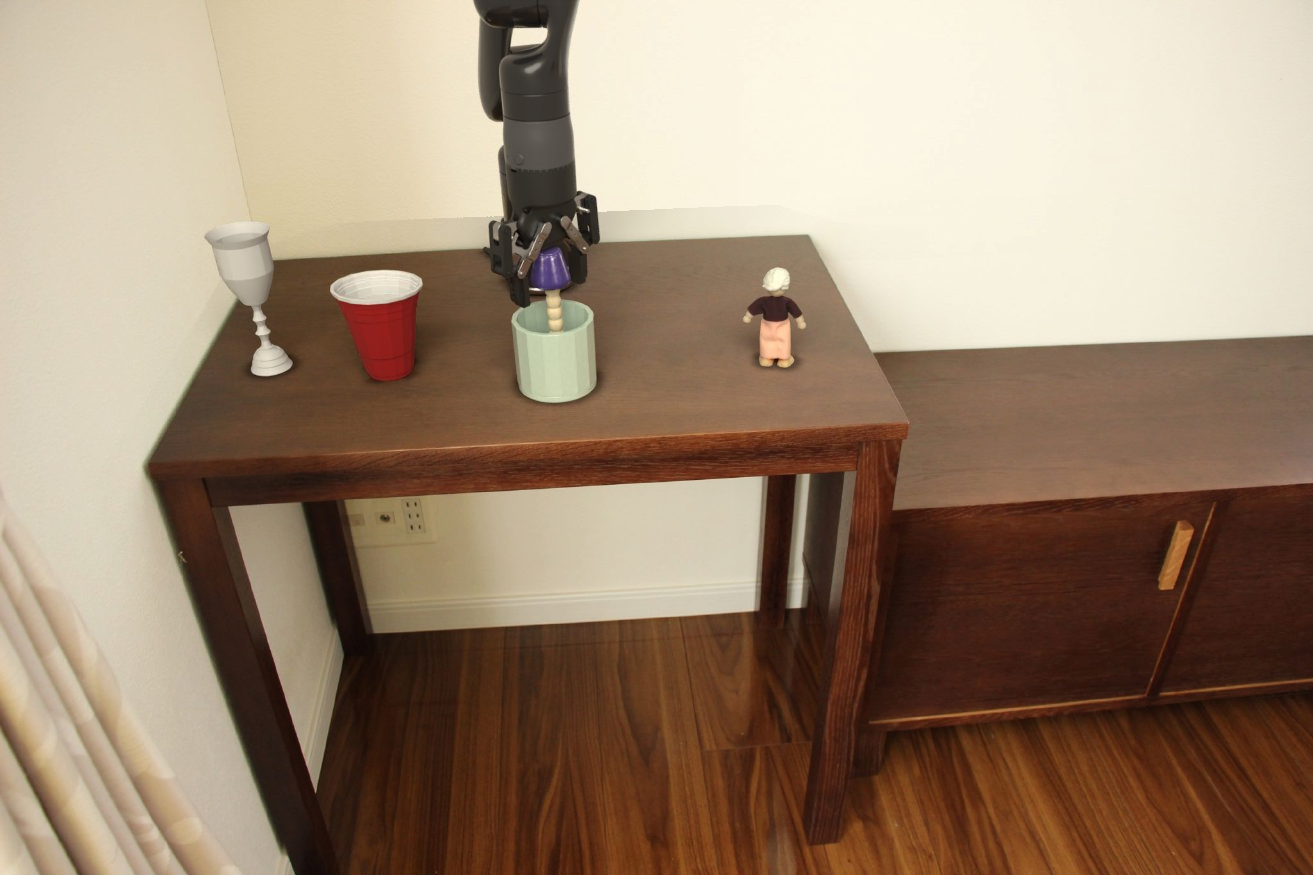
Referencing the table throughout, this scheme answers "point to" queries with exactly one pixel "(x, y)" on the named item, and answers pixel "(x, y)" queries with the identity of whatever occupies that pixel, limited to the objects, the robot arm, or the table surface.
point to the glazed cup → (555, 352)
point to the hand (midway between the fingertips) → (550, 293)
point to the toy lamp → (551, 283)
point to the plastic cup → (381, 319)
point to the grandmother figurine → (775, 319)
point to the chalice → (250, 282)
